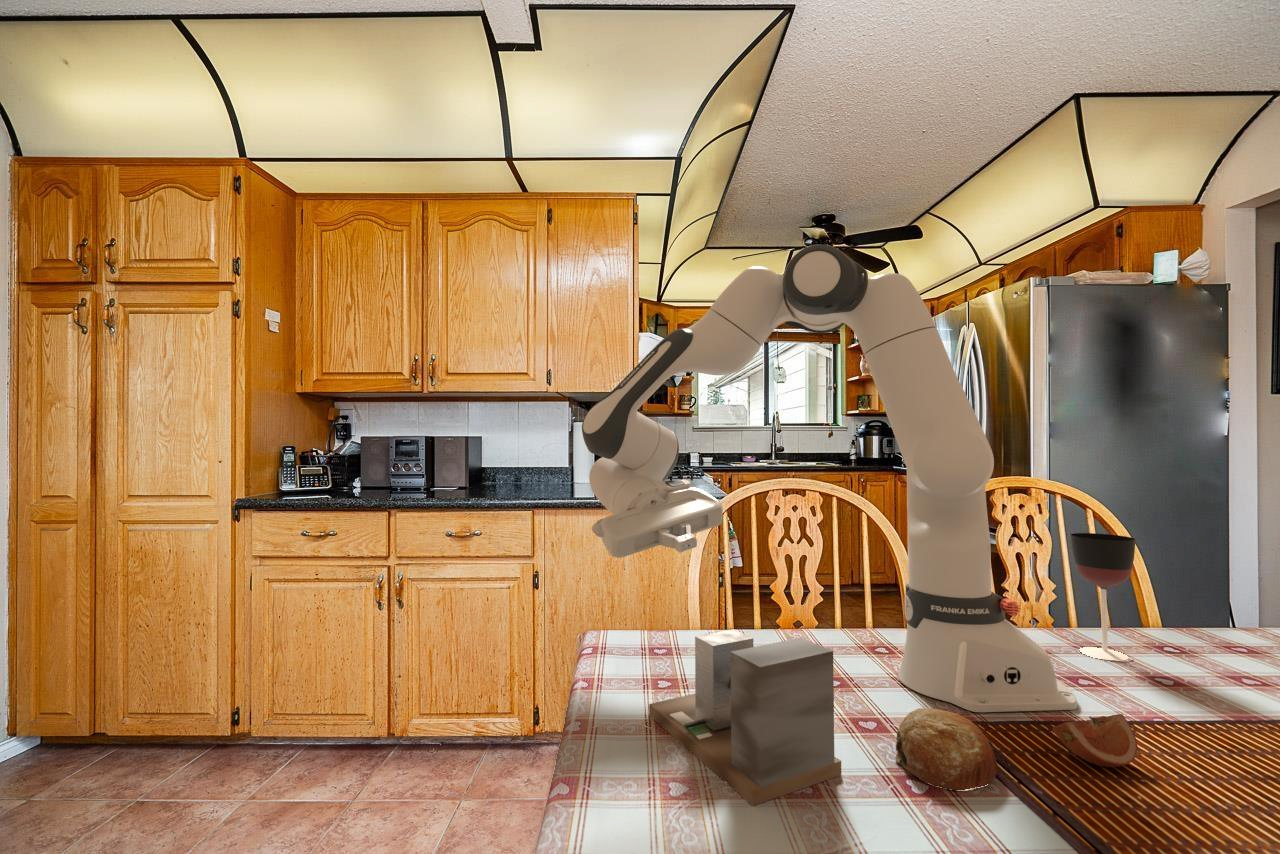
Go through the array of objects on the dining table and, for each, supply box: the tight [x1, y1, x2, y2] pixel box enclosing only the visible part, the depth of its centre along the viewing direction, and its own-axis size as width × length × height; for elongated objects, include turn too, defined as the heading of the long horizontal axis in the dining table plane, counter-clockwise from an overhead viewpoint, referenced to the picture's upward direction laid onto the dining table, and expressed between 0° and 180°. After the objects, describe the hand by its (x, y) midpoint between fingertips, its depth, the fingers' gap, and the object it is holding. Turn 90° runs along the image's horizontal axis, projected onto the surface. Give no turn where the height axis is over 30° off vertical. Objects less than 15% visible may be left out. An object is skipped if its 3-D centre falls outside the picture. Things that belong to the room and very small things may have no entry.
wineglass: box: [1070, 532, 1136, 660], centre depth 101 cm, size 8×9×20 cm
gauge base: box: [648, 637, 842, 807], centre depth 71 cm, size 22×12×14 cm, turn 27°
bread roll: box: [895, 707, 998, 791], centre depth 66 cm, size 10×10×8 cm
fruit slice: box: [1052, 713, 1138, 768], centre depth 67 cm, size 8×7×5 cm
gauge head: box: [685, 628, 754, 731], centre depth 71 cm, size 7×9×10 cm
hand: (688, 545), depth 87 cm, fingers closed
